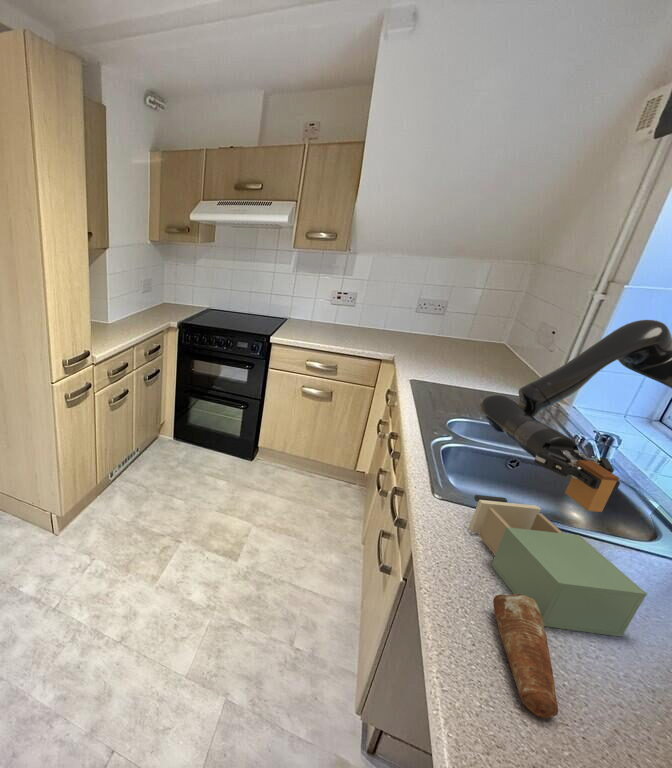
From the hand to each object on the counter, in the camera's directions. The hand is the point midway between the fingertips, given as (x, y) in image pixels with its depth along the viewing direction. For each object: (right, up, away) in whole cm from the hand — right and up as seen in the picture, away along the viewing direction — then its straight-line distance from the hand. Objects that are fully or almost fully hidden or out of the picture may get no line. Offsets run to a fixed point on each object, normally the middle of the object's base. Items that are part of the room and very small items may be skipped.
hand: (606, 485), depth 79 cm
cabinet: (-14, -20, -3) cm, 25 cm away
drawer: (-12, -14, +9) cm, 21 cm away
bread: (-29, -24, -15) cm, 41 cm away
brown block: (0, -5, +5) cm, 7 cm away
